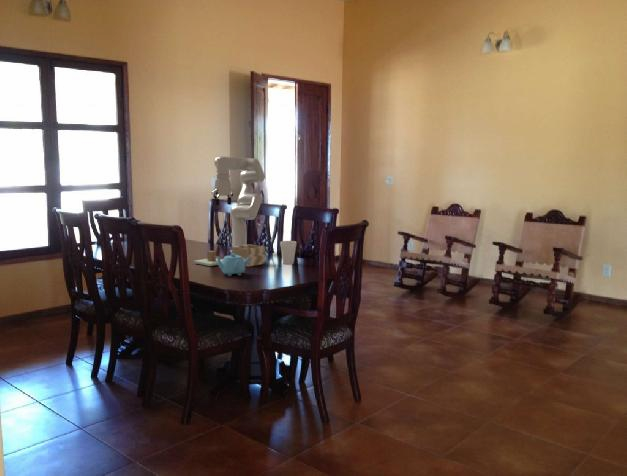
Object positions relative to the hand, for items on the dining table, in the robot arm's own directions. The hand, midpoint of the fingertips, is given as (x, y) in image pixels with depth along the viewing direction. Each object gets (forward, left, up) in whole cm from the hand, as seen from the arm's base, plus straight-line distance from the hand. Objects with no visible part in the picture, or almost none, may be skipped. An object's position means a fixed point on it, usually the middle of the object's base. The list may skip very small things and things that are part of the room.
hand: (223, 204), depth 335 cm
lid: (+18, +10, -34) cm, 39 cm away
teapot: (+30, +43, -34) cm, 62 cm away
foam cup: (-14, +42, -34) cm, 56 cm away
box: (+2, +25, -33) cm, 42 cm away
